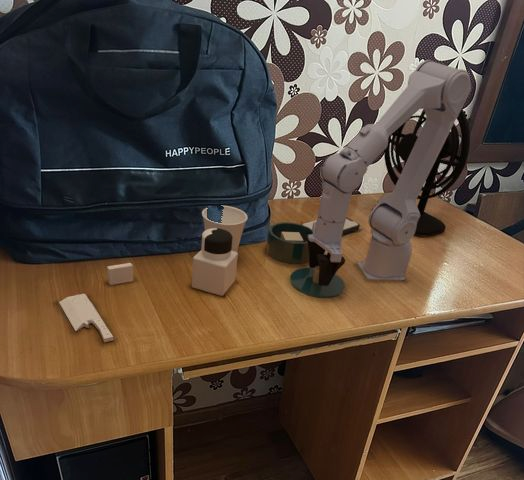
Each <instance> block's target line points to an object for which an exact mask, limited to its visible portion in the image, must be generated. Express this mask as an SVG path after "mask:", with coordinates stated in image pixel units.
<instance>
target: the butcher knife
mask: <svg viewBox="0 0 524 480" xmlns="http://www.w3.org/2000/svg"><path fill="white" fill-rule="evenodd" d="M58 303H59V306H60V308H61V309H62V310H63V312H64V314H65V316H66V317H67V319H68V321H69V322H70V324H71V326H72V328H73V330H74V331H75V332H77V331H80V329H82V328H84V327H85V328H87V329H89V328H90V326H89V325H90V324H92V325H93V326H94V327H95V328H96V330H98V332H99V334H100V336H101V338H102V341H103V343H108V342H112V341H114V336H113V334H112V332H111V331H110V330H109V328H108V327H107V324H106V323H105V321H104V320H103V319H102V317H101V315H100V313H99V312H98V310H97V309H96V307H95V306H94V304H93V302H92V301H90V298H89V297H88V296H87V294H86V293H81V294H78V293H77V294H75V295H70V296H67V297H65V298H63V299H61V300H60V301H58Z"/></svg>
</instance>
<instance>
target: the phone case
mask: <svg viewBox="0 0 524 480" xmlns="http://www.w3.org/2000/svg"><path fill="white" fill-rule="evenodd" d="M316 221H317V219H314V220H310V221H307V222H304V223H300V224H301V225H304V226H307V227H309V228H310V229H312V227H313V222H316ZM359 229H360V223H359V222H357V221H355V220H353V219H351V218H349V217H347V216H346V220H345V224H344V228H343V233H342V236H343V235H346V234H348V233H352V232H355V231H358V230H359Z"/></svg>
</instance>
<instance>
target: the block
mask: <svg viewBox="0 0 524 480" xmlns="http://www.w3.org/2000/svg"><path fill="white" fill-rule="evenodd" d="M280 239H283V240H285V241H290V242H302V243H303V241H304V240H303V239H302V237H301V235H300V233H299V232H281V238H280Z"/></svg>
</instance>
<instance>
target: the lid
mask: <svg viewBox="0 0 524 480" xmlns="http://www.w3.org/2000/svg"><path fill="white" fill-rule="evenodd" d="M289 277H290V278H289V281H290V284H291V286H293V288H294V289H296V290H297V291H299V292H300V293H302V294H305V295H306V296H309V297H313V298H319V299H320V298H321V299H331V298H335V297H338V296H341V294H343V293H344V291H345V288H346V283H345V281H344V280H343V278H341V277H340V276H339V275H338V274H336V273H335V275H334V277H333V278H332V280H331V282H330V284H329V285H328V286H320V285H319V266H316V267H315V268H310V267H303V268H298V269H295V270H294V271H293V272H291V274H290V276H289Z"/></svg>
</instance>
